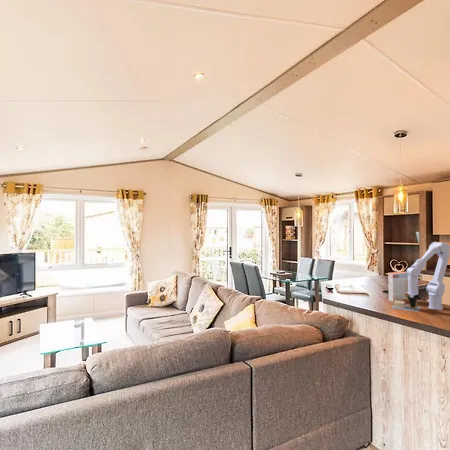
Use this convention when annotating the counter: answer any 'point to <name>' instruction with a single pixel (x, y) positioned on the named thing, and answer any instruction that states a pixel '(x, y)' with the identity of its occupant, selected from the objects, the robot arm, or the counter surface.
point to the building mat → (406, 308)
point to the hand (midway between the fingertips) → (413, 306)
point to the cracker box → (398, 286)
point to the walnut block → (413, 307)
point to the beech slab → (399, 304)
